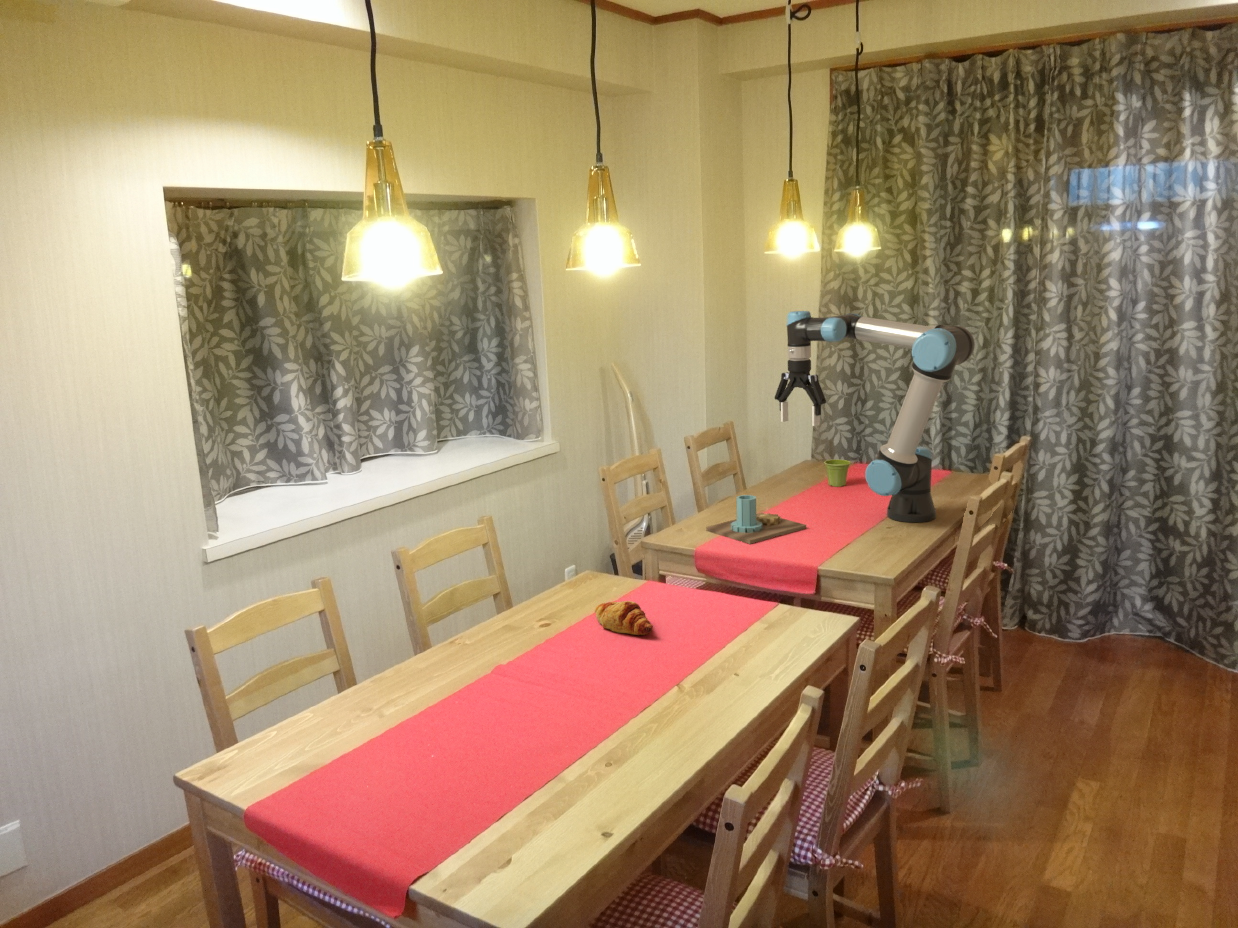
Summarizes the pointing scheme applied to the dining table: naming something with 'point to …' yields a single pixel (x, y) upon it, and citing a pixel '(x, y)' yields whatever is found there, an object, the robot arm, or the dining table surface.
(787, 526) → the carrier board
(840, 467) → the plant pot
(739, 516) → the gear
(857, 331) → the robot arm
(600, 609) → the croissant
